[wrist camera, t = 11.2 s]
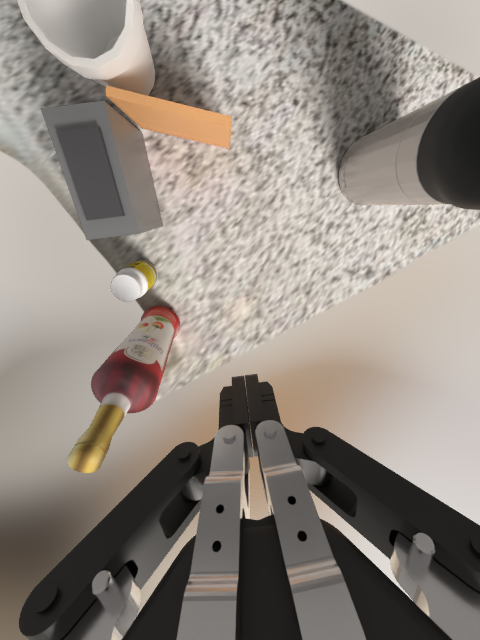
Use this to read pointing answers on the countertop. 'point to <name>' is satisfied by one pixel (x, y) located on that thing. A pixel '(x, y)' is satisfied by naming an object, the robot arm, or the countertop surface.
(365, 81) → the countertop surface
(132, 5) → the foam cup
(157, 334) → the liquor
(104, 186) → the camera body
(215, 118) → the side door
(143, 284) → the supplement bottle
